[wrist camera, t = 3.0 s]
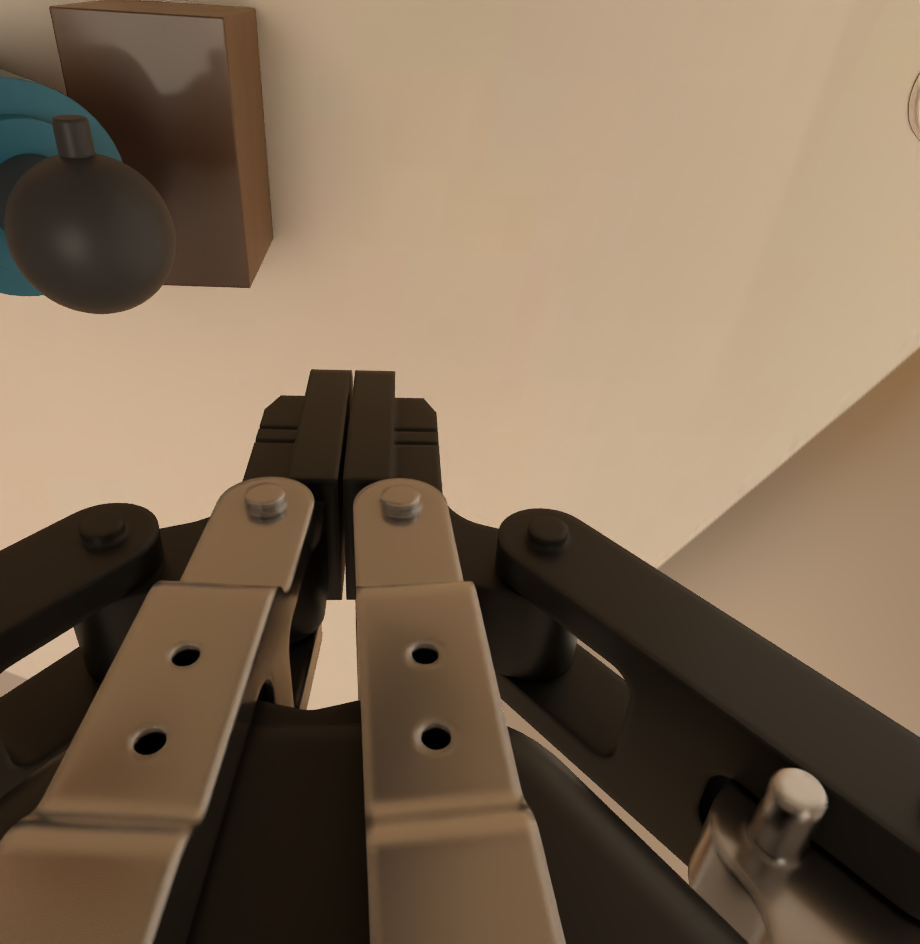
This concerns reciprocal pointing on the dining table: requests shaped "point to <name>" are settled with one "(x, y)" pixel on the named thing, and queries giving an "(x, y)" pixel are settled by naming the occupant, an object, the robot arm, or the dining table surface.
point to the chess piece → (915, 108)
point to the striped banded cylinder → (74, 207)
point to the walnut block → (181, 120)
